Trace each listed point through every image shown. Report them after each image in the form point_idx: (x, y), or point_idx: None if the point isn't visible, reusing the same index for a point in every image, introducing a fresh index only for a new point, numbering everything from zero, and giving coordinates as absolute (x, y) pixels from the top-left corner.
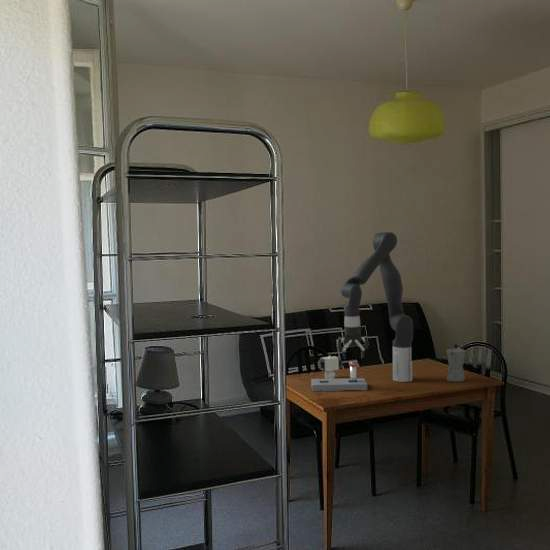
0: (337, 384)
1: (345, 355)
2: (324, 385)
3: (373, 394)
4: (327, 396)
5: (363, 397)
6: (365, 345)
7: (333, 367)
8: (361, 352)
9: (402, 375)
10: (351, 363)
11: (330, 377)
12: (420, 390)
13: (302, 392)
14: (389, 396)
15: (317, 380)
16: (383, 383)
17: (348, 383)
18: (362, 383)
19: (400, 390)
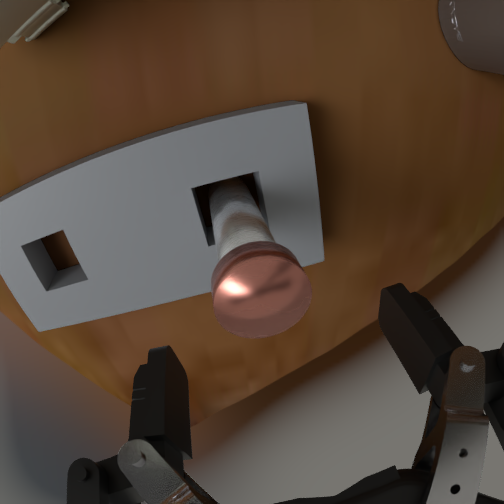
0: (149, 304)
1: (188, 414)
2: (86, 318)
3: (334, 298)
4: (141, 362)
5: (290, 343)
6: (496, 420)
7: (26, 7)
8: (414, 352)
9: (495, 72)
10: (247, 331)
11: (41, 26)
12: (492, 203)
13: (26, 330)
14: None
15: (10, 243)
16: (399, 80)
17: (209, 270)
18: (297, 252)
19: (444, 213)
